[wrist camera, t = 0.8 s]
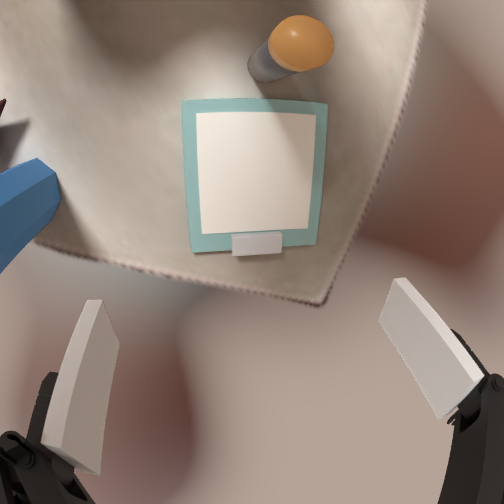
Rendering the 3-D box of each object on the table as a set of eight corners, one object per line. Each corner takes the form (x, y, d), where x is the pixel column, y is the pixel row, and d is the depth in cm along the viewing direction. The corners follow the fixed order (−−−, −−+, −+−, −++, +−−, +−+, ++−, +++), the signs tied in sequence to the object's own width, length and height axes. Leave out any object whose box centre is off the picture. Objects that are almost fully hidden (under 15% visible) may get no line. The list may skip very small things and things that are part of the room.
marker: (247, 48, 24) (274, 11, 13) (284, 50, 25) (333, 21, 13) (246, 82, 26) (274, 65, 15) (284, 84, 27) (334, 72, 15)
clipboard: (182, 101, 26) (180, 100, 24) (324, 103, 28) (332, 103, 26) (191, 250, 35) (191, 259, 33) (313, 242, 37) (319, 250, 35)
